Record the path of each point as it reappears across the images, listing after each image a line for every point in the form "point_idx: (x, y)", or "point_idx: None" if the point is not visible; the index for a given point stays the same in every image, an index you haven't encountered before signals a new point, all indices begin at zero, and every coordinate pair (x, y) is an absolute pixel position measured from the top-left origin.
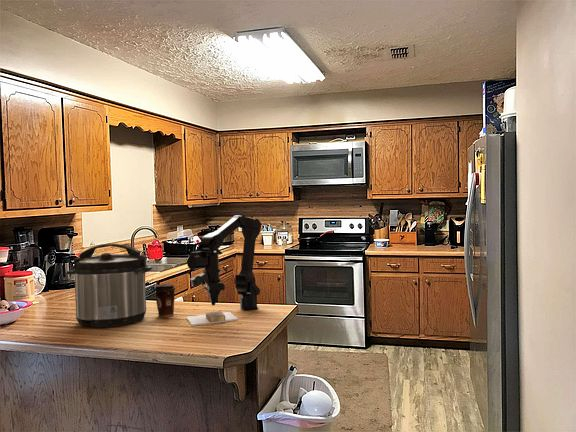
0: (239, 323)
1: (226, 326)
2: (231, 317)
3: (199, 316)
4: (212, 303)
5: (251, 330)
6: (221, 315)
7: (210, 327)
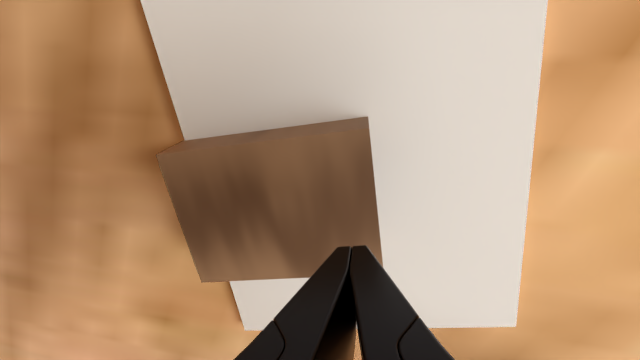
0: (161, 313)
1: (95, 236)
2: None
3: (474, 48)
4: (326, 266)
5: (5, 330)
6: (197, 256)
7: (75, 130)
